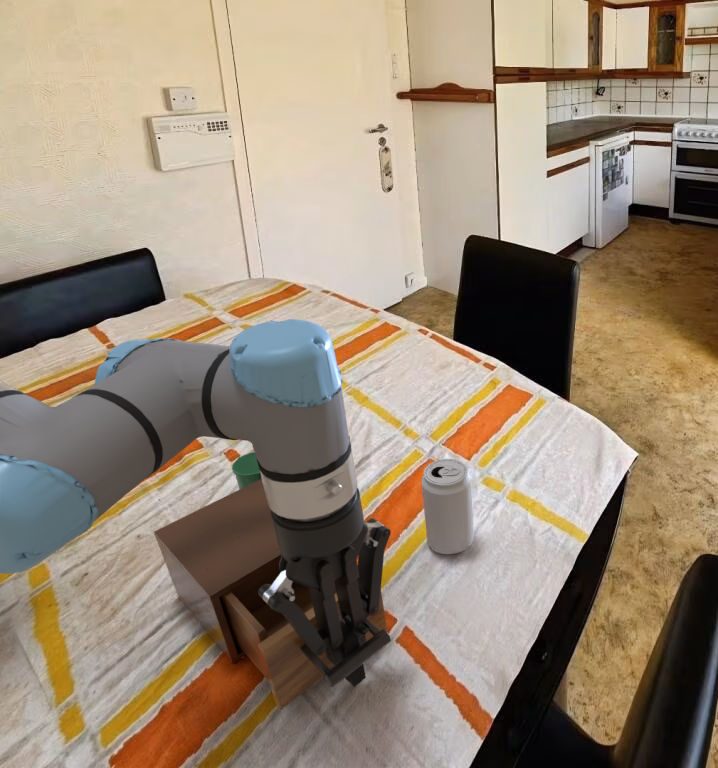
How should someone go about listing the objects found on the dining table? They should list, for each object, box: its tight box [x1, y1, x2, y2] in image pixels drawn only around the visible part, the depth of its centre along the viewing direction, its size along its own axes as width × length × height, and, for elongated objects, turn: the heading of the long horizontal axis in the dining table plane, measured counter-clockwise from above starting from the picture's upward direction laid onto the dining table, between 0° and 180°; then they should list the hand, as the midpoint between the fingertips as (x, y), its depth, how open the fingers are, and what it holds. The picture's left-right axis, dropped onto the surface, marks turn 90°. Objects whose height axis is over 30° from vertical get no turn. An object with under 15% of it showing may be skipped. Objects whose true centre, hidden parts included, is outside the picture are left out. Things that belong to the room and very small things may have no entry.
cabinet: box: [153, 479, 281, 665], centre depth 75 cm, size 15×15×11 cm
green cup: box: [231, 451, 262, 490], centre depth 94 cm, size 8×6×6 cm
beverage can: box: [420, 458, 475, 555], centre depth 83 cm, size 6×6×12 cm
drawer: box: [219, 561, 392, 710], centre depth 68 cm, size 19×13×9 cm
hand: (352, 674), depth 65 cm, fingers closed
